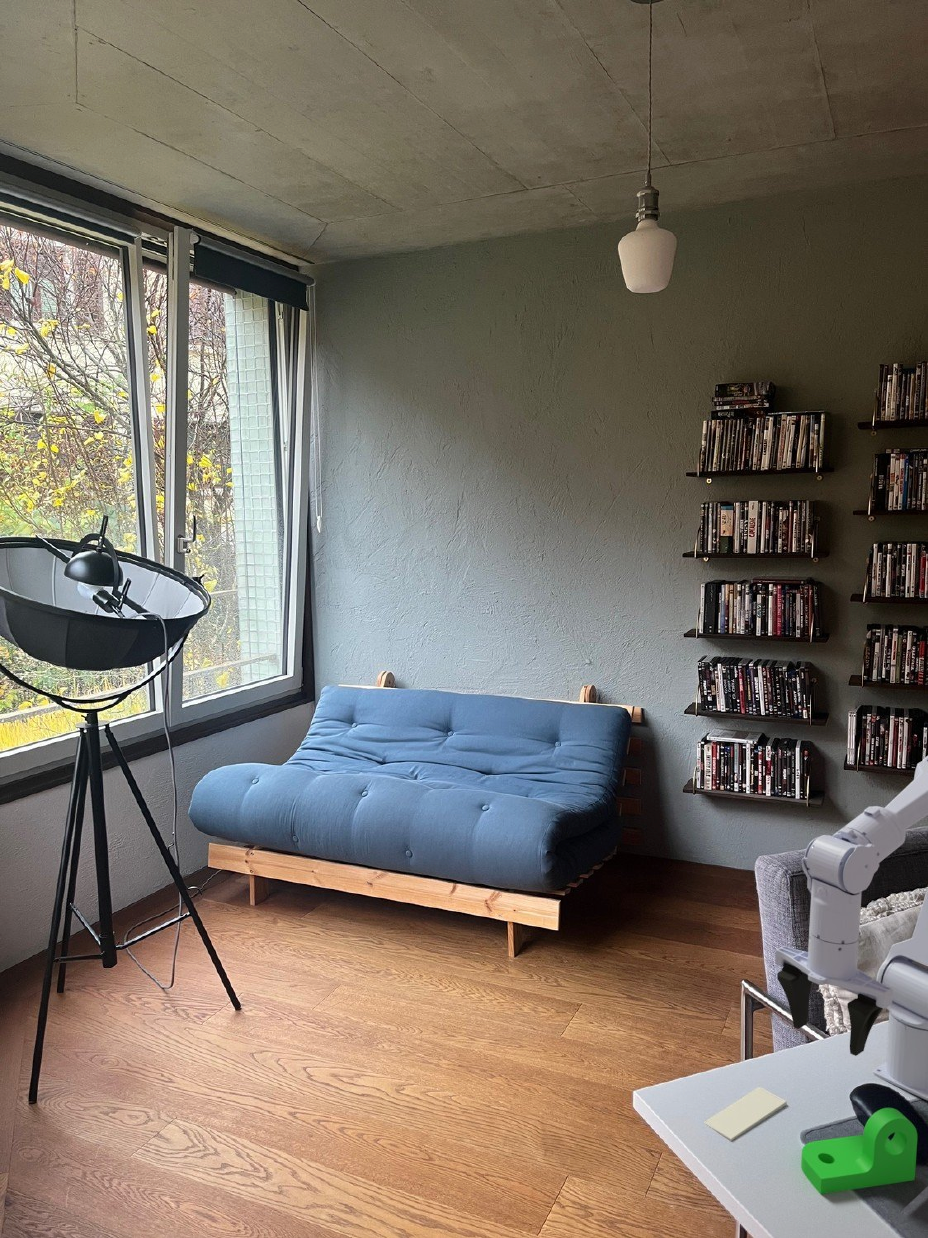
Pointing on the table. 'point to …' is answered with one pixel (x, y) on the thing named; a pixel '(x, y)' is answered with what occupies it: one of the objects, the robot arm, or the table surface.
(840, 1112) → the table surface
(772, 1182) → the table surface
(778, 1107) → the plate
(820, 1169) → the mechanical part
